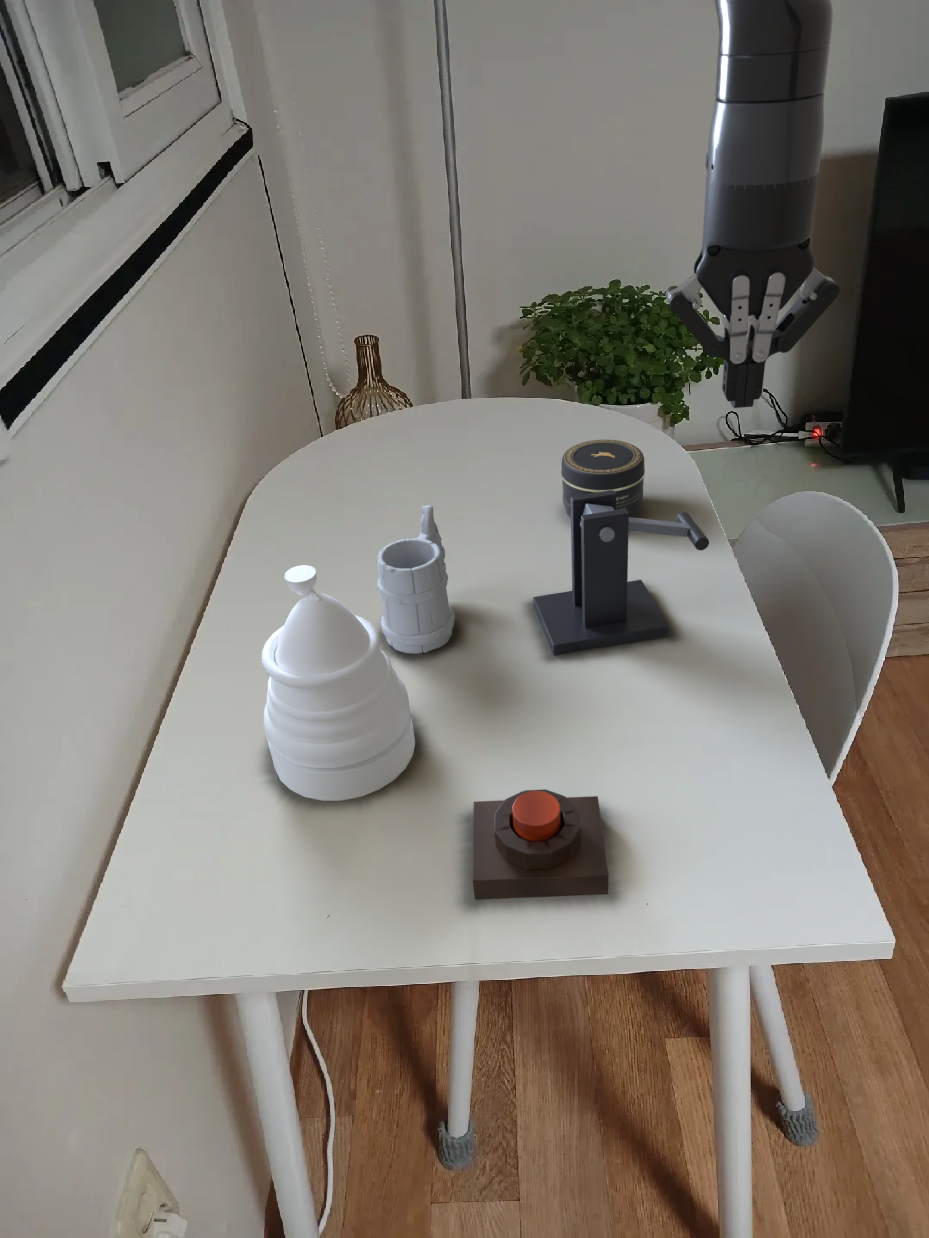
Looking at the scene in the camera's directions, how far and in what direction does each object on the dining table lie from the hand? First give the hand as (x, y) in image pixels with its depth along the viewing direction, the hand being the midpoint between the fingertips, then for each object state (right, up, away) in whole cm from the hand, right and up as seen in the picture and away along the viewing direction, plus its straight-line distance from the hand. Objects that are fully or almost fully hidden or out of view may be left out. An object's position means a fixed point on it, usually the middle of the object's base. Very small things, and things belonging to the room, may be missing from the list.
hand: (741, 403), depth 76 cm
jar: (-5, -4, +42) cm, 43 cm away
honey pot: (-33, -29, +11) cm, 45 cm away
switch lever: (-5, -9, +18) cm, 21 cm away
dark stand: (-8, -17, +23) cm, 30 cm away
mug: (-26, -18, +26) cm, 41 cm away
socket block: (-16, -36, -2) cm, 39 cm away
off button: (-17, -33, -4) cm, 37 cm away
